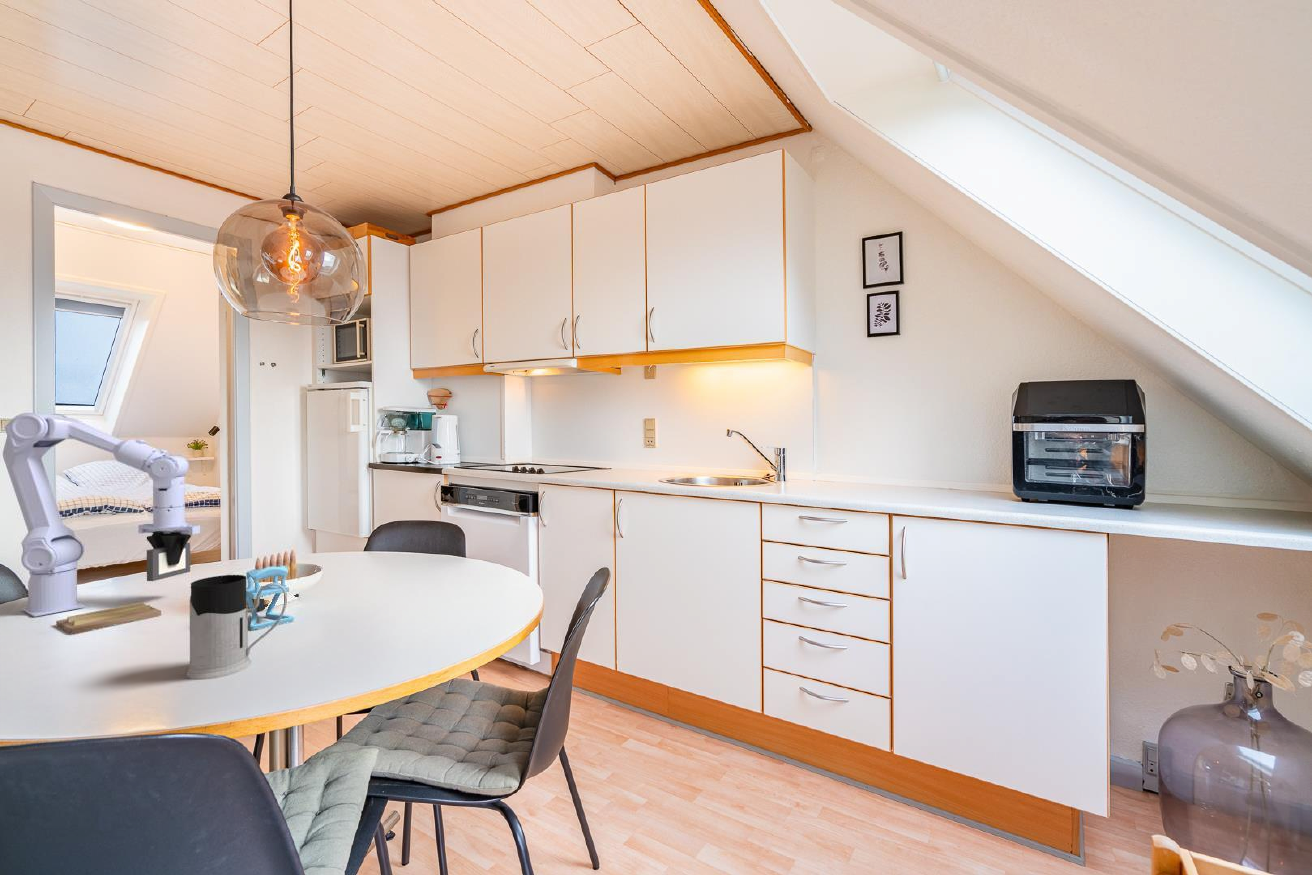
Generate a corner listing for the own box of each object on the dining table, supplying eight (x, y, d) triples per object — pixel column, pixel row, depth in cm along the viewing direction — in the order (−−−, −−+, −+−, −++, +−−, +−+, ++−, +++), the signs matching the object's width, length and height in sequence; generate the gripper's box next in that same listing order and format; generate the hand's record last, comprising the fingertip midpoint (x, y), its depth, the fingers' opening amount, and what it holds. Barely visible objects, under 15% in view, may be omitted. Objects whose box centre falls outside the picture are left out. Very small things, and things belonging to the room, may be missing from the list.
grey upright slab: (146, 580, 131) (146, 550, 130) (184, 571, 139) (184, 542, 139) (153, 581, 130) (153, 550, 130) (190, 571, 139) (190, 542, 139)
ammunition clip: (257, 612, 128) (257, 558, 127) (251, 611, 128) (251, 558, 128) (299, 598, 138) (299, 549, 138) (293, 598, 138) (293, 548, 138)
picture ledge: (56, 625, 118) (56, 615, 118) (143, 607, 130) (143, 599, 130) (72, 634, 113) (72, 624, 113) (161, 615, 125) (161, 606, 125)
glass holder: (198, 662, 100) (197, 576, 100) (292, 651, 105) (292, 569, 105) (177, 682, 92) (176, 589, 92) (280, 669, 97) (280, 581, 97)
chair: (280, 613, 127) (280, 559, 127) (294, 621, 122) (294, 564, 122) (239, 622, 121) (238, 565, 121) (251, 630, 116) (251, 571, 116)
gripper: (211, 505, 138) (212, 561, 138) (159, 503, 140) (159, 559, 140) (183, 508, 131) (184, 568, 131) (128, 507, 133) (129, 566, 133)
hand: (169, 564), depth 135 cm, fingers closed on grey upright slab, 2 cm apart
